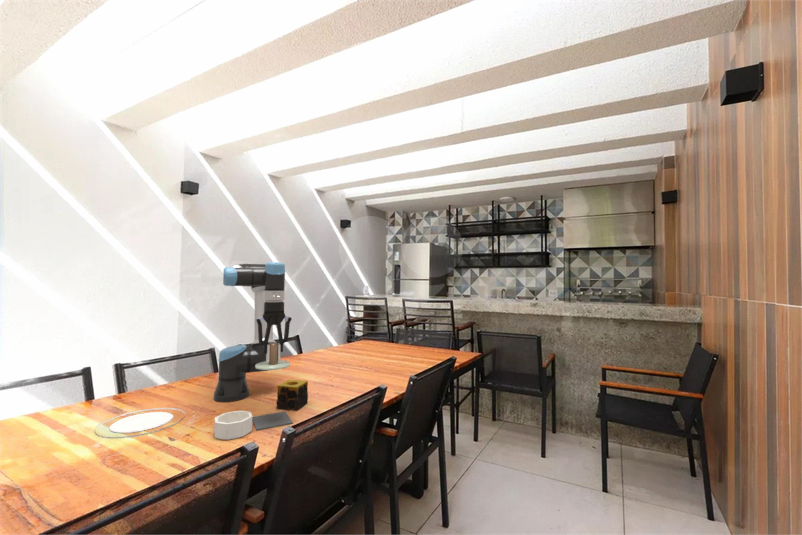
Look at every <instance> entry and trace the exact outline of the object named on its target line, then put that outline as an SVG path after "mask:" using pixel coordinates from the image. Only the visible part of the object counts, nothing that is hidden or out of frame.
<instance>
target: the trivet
mask: <svg viewBox="0 0 802 535" xmlns="http://www.w3.org/2000/svg"><path fill="white" fill-rule="evenodd" d="M252 424H253V425H254V429H255V431H256V432H257V431H263V430H268V429H273V428H277V427H283V426H287V425H292V424H294V422H293V421H292V419H291V417H290V416H289V414H288V412H287V411H286V410H285V411H278V412H271V413H267V414H261V415H254V416H252Z"/></svg>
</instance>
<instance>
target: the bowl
mask: <svg viewBox="0 0 802 535" xmlns="http://www.w3.org/2000/svg"><path fill="white" fill-rule="evenodd" d="M252 417H253V414H252V412H251V411H248V410H247V411H246V410H234V411H227V412H224V413H222V414H219V415H218V416H215V417H214V425H213V426H214V427H213V431H214V432H213V434H214V435H213V436H214V438H215V439H218V440H225V441H227V440H228V441H229V440H230V441H231V440H235V439H240V438H241V437H242V438H243V437H245V436H247V435H248V434H250V433H252V431H253V421H252Z"/></svg>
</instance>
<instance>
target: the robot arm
mask: <svg viewBox="0 0 802 535" xmlns="http://www.w3.org/2000/svg"><path fill="white" fill-rule="evenodd" d="M222 274H223V277H222V278H223V279H222V280H223V282H222V283H223V285H224V286H226V287H250V289H251V292H252V293H254V336H253V337H254V339H253V342H252V343H251V344H250V347H248V346H247V345H246V344H237V345H232V346H228V347H225V348H223V349H221V350H220V351H219V353H218V354H219V356H218V381H217V385H216V388H215V389H214V392H213V400H214V401H215V402H221V403H222V402H223V403H226V402H227V403H229V402H230V403H231V402H236V401H240V400H244V399H245V398H248V397H249V396H250V388H249V385H248V382H247V379H246V378H247V377H246V376H247V374H248V373H249V374H250V373H259V372H269V371H270V370H259V369H256V368H255V365H256V364H257V363H260V362H264V361H266V362H269V353H270V345H269V343H277V341H275V339H274V332H273V331H274V330H273V329H274V326H276V332H277V338H278V361H280V360H281V353H283V352H284V344H285V343H288V342H289V335H290V334H289V333H290V326H291V325H290V324H291V321H292V320H293V319H292V317H290V316H287V315H286V313H285V302H284V301H285V286H286V284H285V283H286V282H285V281H286V280H285V279H286V264H285V263H283V262H274V261H273V262H270V261H269V262H266V263H260V264H259V263H239V264H235V265H231V266H230V267H224V268H223V273H222ZM283 321H284V323H285V324H284V333H283V330H282V322H283Z"/></svg>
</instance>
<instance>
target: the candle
mask: <svg viewBox="0 0 802 535" xmlns="http://www.w3.org/2000/svg"><path fill="white" fill-rule="evenodd" d="M308 384H309V381H308V380H297V379H287V380H286V381H283V382H281V383H280V384H278V385H277V386H276V390H277V393H276V396H277V398H276V402H275V403H276V410H285V411H289V410H290V411H299V410H300V409H301V408H303V407H305V406H306V405H307V404H308V399H309V396H308V395H309V393H308V390H309V389H308Z"/></svg>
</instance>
